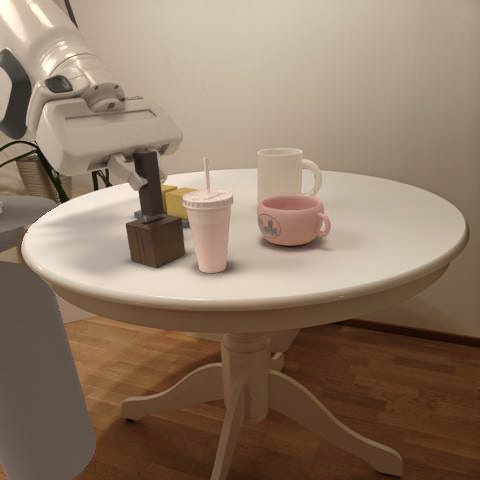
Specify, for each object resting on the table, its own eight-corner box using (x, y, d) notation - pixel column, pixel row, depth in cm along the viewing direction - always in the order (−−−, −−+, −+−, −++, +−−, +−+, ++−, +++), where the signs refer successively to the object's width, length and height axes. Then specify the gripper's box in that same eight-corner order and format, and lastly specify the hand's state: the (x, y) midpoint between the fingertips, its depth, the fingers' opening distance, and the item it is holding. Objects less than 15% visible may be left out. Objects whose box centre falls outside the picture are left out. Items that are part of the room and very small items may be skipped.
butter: (142, 210, 79) (139, 189, 77) (161, 204, 83) (159, 183, 81) (187, 219, 74) (185, 196, 72) (205, 212, 77) (204, 190, 75)
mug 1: (322, 204, 83) (326, 148, 78) (317, 216, 76) (320, 155, 71) (263, 201, 86) (263, 147, 81) (253, 212, 79) (252, 154, 74)
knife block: (131, 261, 60) (124, 223, 57) (161, 248, 64) (156, 212, 61) (156, 268, 57) (150, 229, 55) (185, 254, 62) (181, 217, 59)
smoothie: (237, 258, 60) (233, 153, 53) (234, 276, 54) (230, 162, 47) (192, 258, 60) (183, 154, 53) (185, 277, 54) (173, 163, 48)
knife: (146, 259, 60) (129, 152, 53) (160, 253, 62) (147, 149, 55) (156, 262, 59) (141, 153, 52) (171, 255, 61) (159, 150, 54)
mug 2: (244, 242, 65) (243, 204, 62) (283, 226, 72) (283, 191, 69) (309, 260, 58) (311, 218, 55) (345, 241, 64) (349, 202, 62)
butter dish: (134, 217, 79) (133, 212, 79) (164, 207, 85) (163, 202, 84) (186, 228, 73) (185, 222, 72) (214, 216, 78) (214, 211, 78)
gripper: (139, 113, 65) (192, 184, 65) (12, 126, 51) (81, 218, 51) (156, 79, 60) (213, 155, 60) (22, 83, 46) (97, 183, 46)
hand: (152, 184), depth 55 cm, fingers closed on knife, 2 cm apart
